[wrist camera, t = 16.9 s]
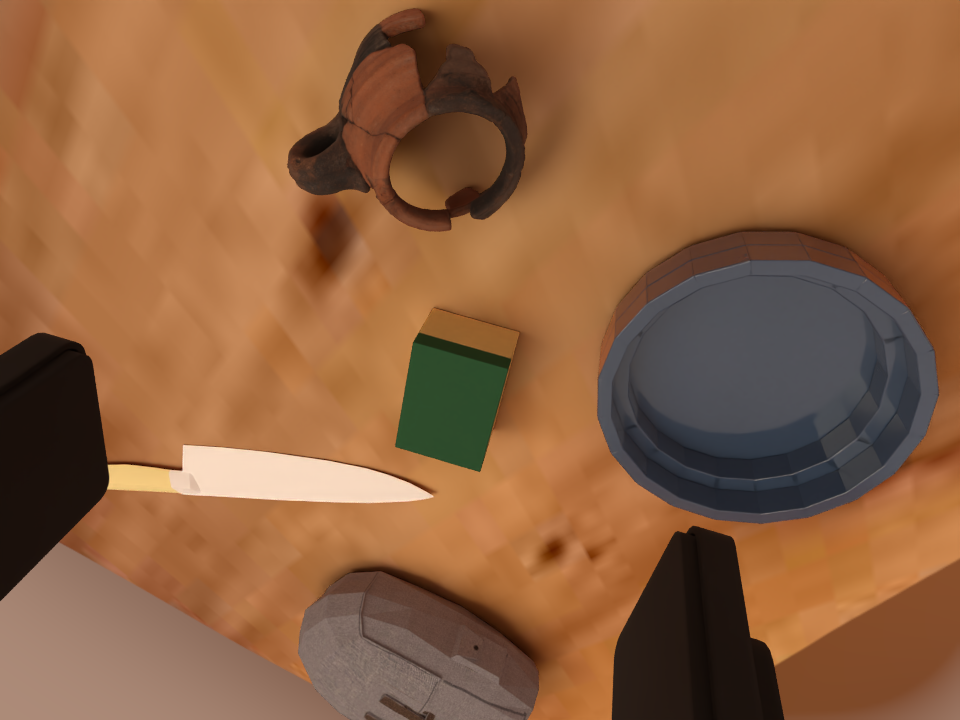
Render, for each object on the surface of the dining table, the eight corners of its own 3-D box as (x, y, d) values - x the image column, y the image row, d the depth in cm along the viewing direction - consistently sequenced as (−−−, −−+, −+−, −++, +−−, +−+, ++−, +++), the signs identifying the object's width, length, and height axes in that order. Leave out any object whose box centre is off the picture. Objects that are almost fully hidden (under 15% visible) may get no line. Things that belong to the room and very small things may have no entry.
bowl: (736, 164, 33) (748, 191, 30) (979, 342, 36) (1019, 388, 32) (548, 380, 42) (539, 422, 39) (752, 512, 44) (762, 564, 41)
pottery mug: (464, -43, 32) (506, 36, 26) (523, 119, 39) (565, 205, 34) (246, 70, 33) (246, 164, 28) (341, 205, 41) (355, 299, 36)
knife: (432, 452, 48) (437, 506, 50) (51, 434, 56) (67, 482, 57) (426, 461, 47) (432, 516, 49) (39, 442, 55) (55, 491, 56)
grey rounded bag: (564, 647, 56) (356, 529, 53) (553, 746, 49) (314, 615, 46) (474, 718, 64) (291, 618, 61) (454, 812, 57) (247, 703, 54)
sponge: (433, 307, 41) (412, 341, 38) (520, 331, 41) (508, 369, 37) (414, 407, 46) (394, 447, 42) (492, 430, 45) (480, 472, 42)
